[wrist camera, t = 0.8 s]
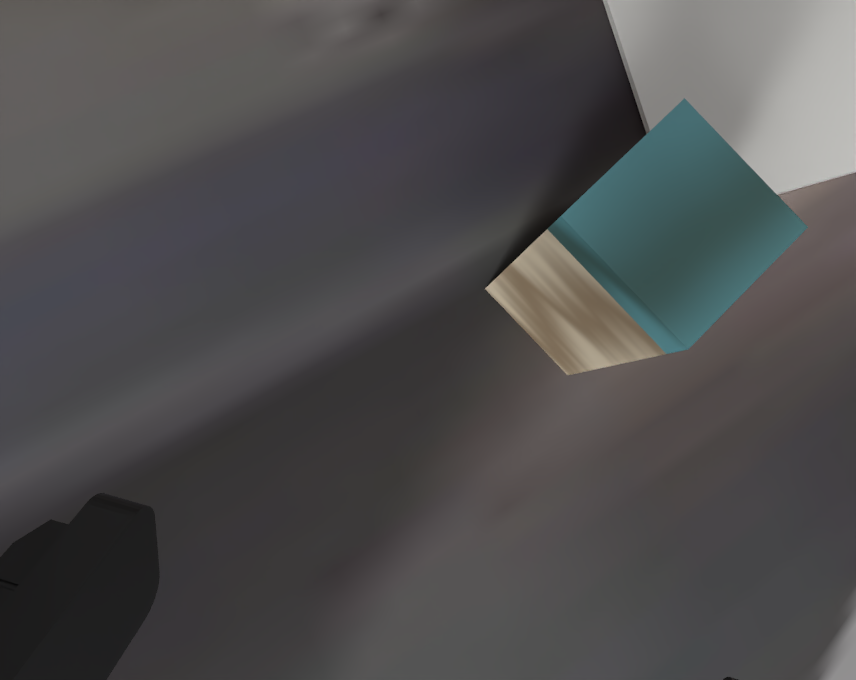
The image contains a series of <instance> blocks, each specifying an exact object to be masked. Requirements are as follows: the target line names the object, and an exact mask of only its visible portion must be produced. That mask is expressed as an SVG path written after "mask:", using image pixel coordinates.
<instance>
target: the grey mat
mask: <svg viewBox="0 0 856 680" xmlns="http://www.w3.org/2000/svg"><path fill="white" fill-rule="evenodd" d="M603 3H604V6H605V9H606V12H607V15H608V18H609V21H610V24H611V27H612V30H613V33H614V36H615V40H616V43H617V46H618V49H619V52H620V55H621V58H622V61H623V64H624V67H625V70H626V73H627V76H628V79H629V82H630V85H631V88H632V91H633V94H634V97H635V100H636V103H637V107H638V110H639V113H640V116H641V119H642V122H643V125H644V128H645V131H646V134H647V133H648V132H650V131H651V130H652V129H653V128H654V127H655V126H656V125H657V124H658V123H659V122H660V121H661V120H662V119H663V118H664V117H665V116H666V115H667V114H668V113H669V112H670V111H672V110H673V109H674V108H675V107H676V106H677V105H678V104H679V103H680V102H681V101H682V100H683V99H684V98H685V99H686V100H687V101H688V102H689V103H690V104H691V105H692V106H693V108H694V109H695V110H696V111H697V112H698V113H699V114H700V115H701V116H702V117H703V118H704V119H705V120H706V121H707V122H708V123H709V124H710V125H711V126H712V127H713V128H714V129H715V131H716V132H717V133H718V134H719V135H720V136H721V137H722V138H723V139H724V140H725V141H726V142H727V143H728V144H729V145H730V146H731V147H732V148H733V149H734V150H735V151H736V152H737V154H738V155H739V156H740V157H741V158H742V159H743V160H744V161H745V162H746V163H747V164H748V165H749V166H750V167H751V168H752V169H753V170H754V171H755V172H756V173H757V174H758V175H759V177H760V178H761V179H762V180H763V181H764V182H765V183H766V184H767V185H768V186H769V187H770V188H771V189H772V190H773V191H774V192H775V193H776V194H777V195H778V194H782V193H785V192H789V191H792V190H796V189H799V188H803V187H806V186H810V185H813V184H817V183H820V182H824V181H827V180H831V179H834V178H838V177H841V176H845V175H848V174H852V173H855V172H856V0H603Z"/></svg>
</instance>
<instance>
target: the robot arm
mask: <svg viewBox="0 0 856 680" xmlns="http://www.w3.org/2000/svg"><path fill="white" fill-rule="evenodd" d="M158 584H159V561H158V548H157V536H156V524H155V514H154V511H153V509H152V508H151V507H149V506H146V505H142V504H139V503H135V502H132V501H129V500H125V499H122V498H118V497H115V496H111V495H108V494H104V493H99V494H97V495H95V496H93V497H92V498H91V499H90V500H89V501H88V502H87V503H86V504H85V505H84V507H83V508H82V509H81V510H80V511H79V513H78V514H77V515H76V516H75V518H74V519H73V520H72V521H71V522H70V524H69V525H68V524H64V523H61V522H57V521H54V520H49V521H48V522H46V523H45V524H43V525H41V526H40V527H38V528H36V529H35V530H33V531H32V532H30V533H28V534H27V535H25V536H24V537H22V538H20V539H19V540H17V541H15V542H14V543H13V544H12V545H11V546H10V547H9V548H8V549H7V551H6V552H5V553H4V554H3V555H2V556H1V557H0V680H107V678H108V676H109V675H110V673H111V672H112V670H113V669H114V667H115V665H116V664H117V662H118V661H119V659H120V658H121V656H122V654H123V653H124V651H125V650H126V648H127V647H128V645H129V643H130V642H131V640H132V639H133V637H134V636H135V634H136V632H137V631H138V629H139V628H140V626H141V625H142V623H143V621H144V620H145V618H146V616H147V615H148V613H149V611H150V609H151V606H152V604H153V601H154V599H155V596H156V593H157V589H158ZM723 680H738V679H734V678H731V677H726V678H725V679H723Z"/></svg>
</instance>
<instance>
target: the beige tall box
mask: <svg viewBox="0 0 856 680" xmlns="http://www.w3.org/2000/svg"><path fill="white" fill-rule="evenodd" d="M807 228H808V227H807V226H806V225H805V224H804V223H803V222H802V220H801V219H800V218H799V217H798V216H797V215H796V214H795V213H794V212H793V211H792V210H791V209H790V208H789V207H788V206H787V205H786V204H785V203H784V202H783V201H782V200H781V198H780V197H779V196H778V195H777V194H776V193H775V192H774V191H773V190H772V189H771V188H770V187H769V186H768V185H767V184H766V183H765V182H764V181H763V180H762V179H761V178H760V177H759V175H758V174H757V173H756V172H755V171H754V170H753V169H752V168H751V167H750V166H749V165H748V164H747V163H746V162H745V161H744V160H743V159H742V158H741V157H740V156H739V155H738V154H737V152H736V151H735V150H734V149H733V148H732V147H731V146H730V145H729V144H728V143H727V142H726V141H725V140H724V139H723V138H722V137H721V136H720V135H719V134H718V133H717V132H716V131H715V129H714V128H713V127H712V126H711V125H710V124H709V123H708V122H707V121H706V120H705V119H704V118H703V117H702V116H701V115H700V114H699V113H698V112H697V111H696V110H695V109H694V108H693V106H692V105H691V104H690V103H689V102H688V101H687V100H686V99H685V98H684V99H683V100H682V101H681V102H680V103H679V104H678V105H677V106H676V107H675V108H674V109H673V110H672V111H670V112H669V113H668V114H667V115H666V116H665V117H664V118H663V119H662V120H661V121H660V122H659V123H658V124H657V125H656V126H655V127H654V128H653V129H652V130H651V131H650V132H648V133H647V134H646V135H645V136H644V137H643V138H642V139H641V140H640V141H639V142H638V143H637V144H636V145H635V146H634V147H633V148H632V149H631V150H630V151H629V152H627V153H626V154H625V155H624V156H623V157H622V158H621V159H620V160H619V161H618V162H617V163H616V164H615V165H614V166H613V167H612V168H611V169H610V170H609V171H608V172H606V173H605V174H604V175H603V176H602V177H601V178H600V179H599V180H598V181H597V182H596V183H595V184H594V185H593V186H592V187H591V188H590V189H589V190H588V191H587V192H586V193H584V194H583V195H582V196H581V197H580V198H579V199H578V200H577V201H576V202H575V203H574V204H573V205H572V206H571V207H570V208H569V209H568V210H567V211H566V212H565V213H563V214H562V215H561V216H560V217H559V218H558V219H557V220H556V221H555V222H554V223H553V224H552V225H551V226H550V227H549V228H548V229H547V230H546V231H545V232H544V233H543V234H542V235H541V236H539V237H538V238H537V239H536V240H535V241H534V242H533V243H532V244H531V245H530V246H529V247H528V248H527V249H526V250H525V251H524V252H523V253H522V254H521V255H520V256H519V257H518V258H517V259H515V260H514V261H513V262H512V263H511V264H510V265H509V266H508V267H507V268H506V269H505V270H504V271H503V272H502V273H501V274H500V275H499V276H498V277H497V278H496V279H495V280H494V281H493V282H491V283H490V284H489V285H488V286H487V287H486V288H485V289H486V290H487V291H488V292H489V293H490V294H491V295H492V296H493V298H494V299H495V300H496V301H497V302H498V303H499V304H500V305H501V306H502V307H503V308H504V309H505V310H506V311H507V312H508V313H509V314H510V315H511V316H512V317H513V319H514V320H515V321H516V322H517V323H518V324H519V325H520V326H521V327H522V328H523V329H524V330H525V331H526V332H527V333H528V334H529V335H530V336H531V337H532V338H533V339H534V341H535V342H536V343H537V344H538V345H539V346H540V347H541V348H542V349H543V350H544V351H545V352H546V353H547V354H548V355H549V356H550V357H551V358H552V359H553V360H554V361H555V363H556V364H557V365H558V366H559V367H560V368H561V369H562V370H563V371H564V372H565V373H566V374H567V375H571V374H576V373H581V372H585V371H590V370H595V369H599V368H604V367H608V366H613V365H618V364H622V363H627V362H632V361H636V360H641V359H646V358H650V357H655V356H660V355H664V354H669V353H673V352H678V351H683V350H687V349H689V348H690V347H691V346H692V345H693V344H694V343H695V342H696V341H697V340H698V339H699V338H700V337H701V336H702V335H703V334H704V333H705V332H706V331H707V330H708V329H709V328H710V327H711V326H712V325H713V324H714V323H715V321H716V320H717V319H718V318H719V317H720V316H721V315H722V314H723V313H724V312H725V311H726V310H727V309H728V308H729V307H730V306H731V305H732V304H733V303H734V302H735V301H736V300H737V299H738V298H739V297H740V296H741V295H742V294H743V293H744V292H745V291H746V290H747V289H748V288H749V287H750V286H751V285H752V284H753V283H754V282H755V281H756V280H757V279H758V278H759V277H760V276H761V275H762V274H763V272H764V271H765V270H766V269H767V268H768V267H769V266H770V265H771V264H772V263H773V262H774V261H775V260H776V259H777V258H778V257H779V256H780V255H781V254H782V253H783V252H784V251H785V250H786V249H787V248H788V247H789V246H790V245H791V244H792V243H793V242H794V241H795V240H796V239H797V238H798V237H799V236H800V235H801V234H802V233H803V232H804V231H805V230H806V229H807Z"/></svg>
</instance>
